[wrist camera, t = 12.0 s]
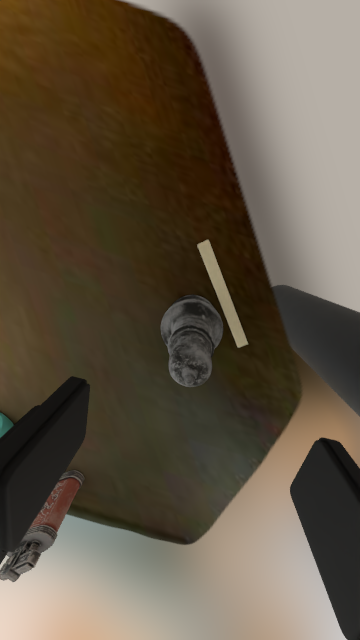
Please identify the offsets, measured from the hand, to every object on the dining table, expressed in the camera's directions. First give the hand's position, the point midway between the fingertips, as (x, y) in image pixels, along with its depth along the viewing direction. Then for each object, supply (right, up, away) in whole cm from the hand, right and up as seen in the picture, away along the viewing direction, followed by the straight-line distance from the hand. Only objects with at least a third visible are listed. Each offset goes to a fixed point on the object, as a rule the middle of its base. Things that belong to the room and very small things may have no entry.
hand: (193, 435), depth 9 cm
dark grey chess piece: (+1, +5, +15) cm, 16 cm away
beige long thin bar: (+4, +7, +14) cm, 16 cm away
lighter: (-19, -21, +25) cm, 37 cm away
